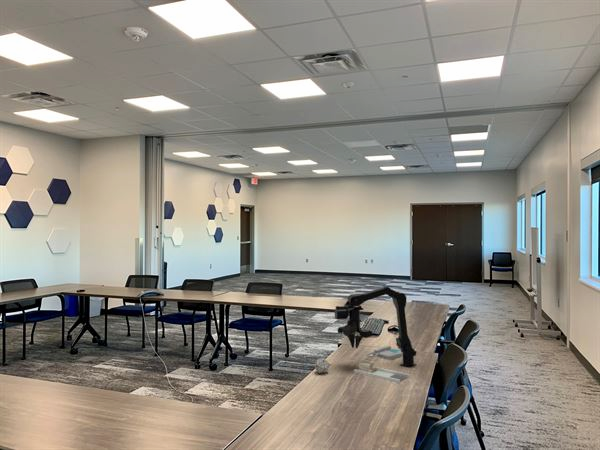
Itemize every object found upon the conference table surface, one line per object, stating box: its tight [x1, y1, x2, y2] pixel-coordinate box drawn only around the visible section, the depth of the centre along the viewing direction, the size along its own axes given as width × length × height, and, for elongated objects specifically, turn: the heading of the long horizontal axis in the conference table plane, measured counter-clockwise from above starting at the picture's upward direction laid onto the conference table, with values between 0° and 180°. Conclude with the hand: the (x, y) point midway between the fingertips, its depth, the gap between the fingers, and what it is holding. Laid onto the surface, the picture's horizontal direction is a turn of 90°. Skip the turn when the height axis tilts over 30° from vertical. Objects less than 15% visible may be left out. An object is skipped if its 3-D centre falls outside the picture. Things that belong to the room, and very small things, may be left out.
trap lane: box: [353, 366, 411, 384], centre depth 218 cm, size 11×26×2 cm, turn 48°
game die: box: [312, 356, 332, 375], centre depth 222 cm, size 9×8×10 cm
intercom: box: [365, 345, 403, 361], centre depth 250 cm, size 13×4×25 cm
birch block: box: [358, 359, 376, 373], centre depth 224 cm, size 6×6×4 cm
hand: (354, 347), depth 229 cm, fingers open, 2 cm apart
